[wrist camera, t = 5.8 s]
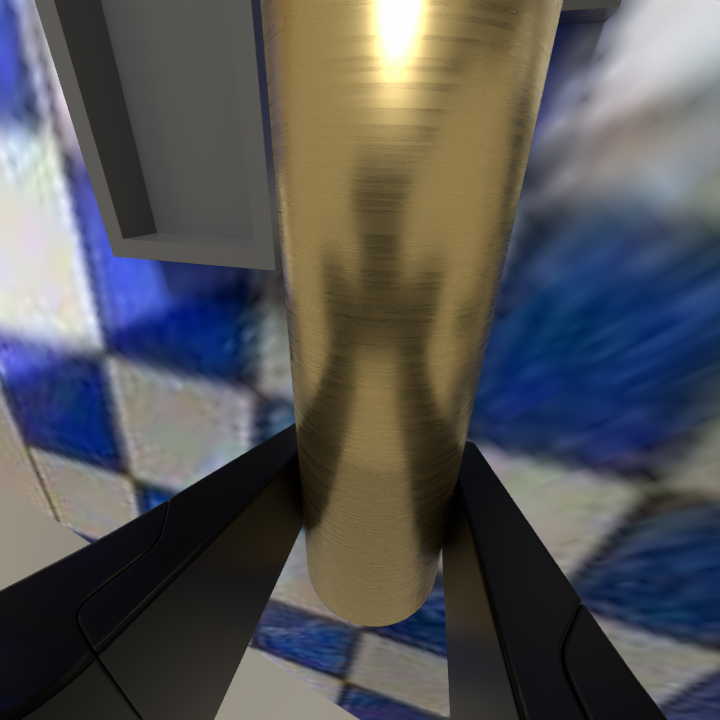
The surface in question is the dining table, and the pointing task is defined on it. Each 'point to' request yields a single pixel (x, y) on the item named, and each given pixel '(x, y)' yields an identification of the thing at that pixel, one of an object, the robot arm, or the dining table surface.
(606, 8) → the grey block
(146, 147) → the tray
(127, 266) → the dining table surface
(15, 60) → the dining table surface
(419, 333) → the pin
